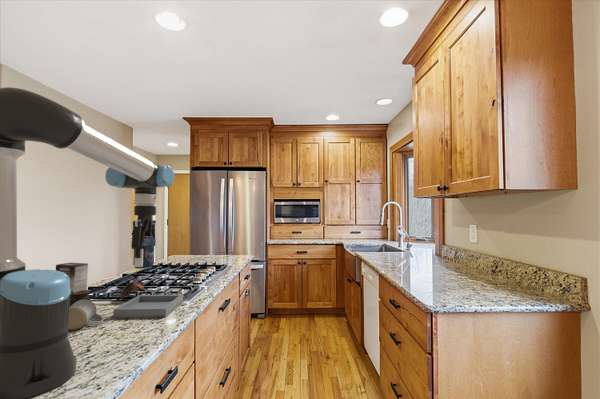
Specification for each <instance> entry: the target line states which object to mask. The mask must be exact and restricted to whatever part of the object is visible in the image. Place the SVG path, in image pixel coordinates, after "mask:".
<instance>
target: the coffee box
mask: <svg viewBox="0 0 600 399" xmlns="http://www.w3.org/2000/svg"><path fill="white" fill-rule="evenodd" d="M88 268H89V263H88V262H87V263H85V262H66V263H58V264H55V270H56V271H60V272H63V273H65V274H67V275H68V277H69V279H70V288H71V291H73V292H75V291H80V290H88V288H87V287H88V271H89V269H88ZM71 293H72V292H71ZM71 293H70V294H71ZM70 298H71V297H70Z"/></svg>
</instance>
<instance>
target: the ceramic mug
mask: <svg viewBox="0 0 600 399" xmlns="http://www.w3.org/2000/svg"><path fill="white" fill-rule="evenodd" d="M97 311H98V310H97V306H96V304H95V303H94V302H93V301H92V300H91V301H90V300H79V301H77V302H75V303H74V304H73V305H72V306H71V307H69V324H68V331H75V330H78V329H81V328H83V327H84V326H85V325H86V326H91V327H98V326H100V325H102V324H103V321H104V317H103V316H102V315H100V314H99V313H97ZM93 319H95V320H97V321H93Z"/></svg>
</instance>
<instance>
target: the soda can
mask: <svg viewBox="0 0 600 399" xmlns="http://www.w3.org/2000/svg"><path fill="white" fill-rule="evenodd" d="M142 249H143V267H134V268H135V269H136V270H144V269H151V268H152V267H153V265H154V264H155V246H154V239H153V236H144V241H143V246H142ZM134 263H135V249H133V266H134Z"/></svg>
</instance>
